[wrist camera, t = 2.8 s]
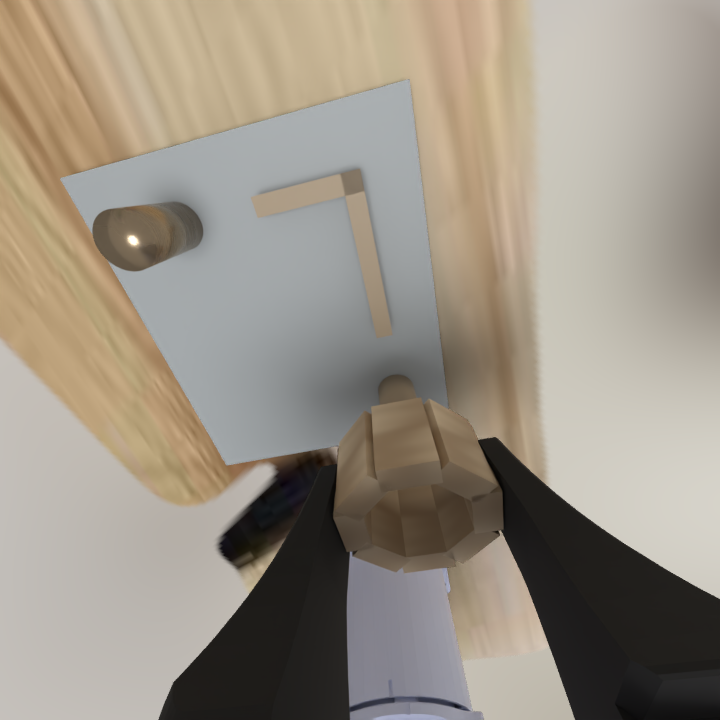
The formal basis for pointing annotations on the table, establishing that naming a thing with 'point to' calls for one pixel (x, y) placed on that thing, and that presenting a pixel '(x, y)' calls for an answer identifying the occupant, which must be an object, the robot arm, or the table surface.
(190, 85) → the table surface
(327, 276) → the board
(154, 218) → the end peg
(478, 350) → the table surface
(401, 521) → the ring
